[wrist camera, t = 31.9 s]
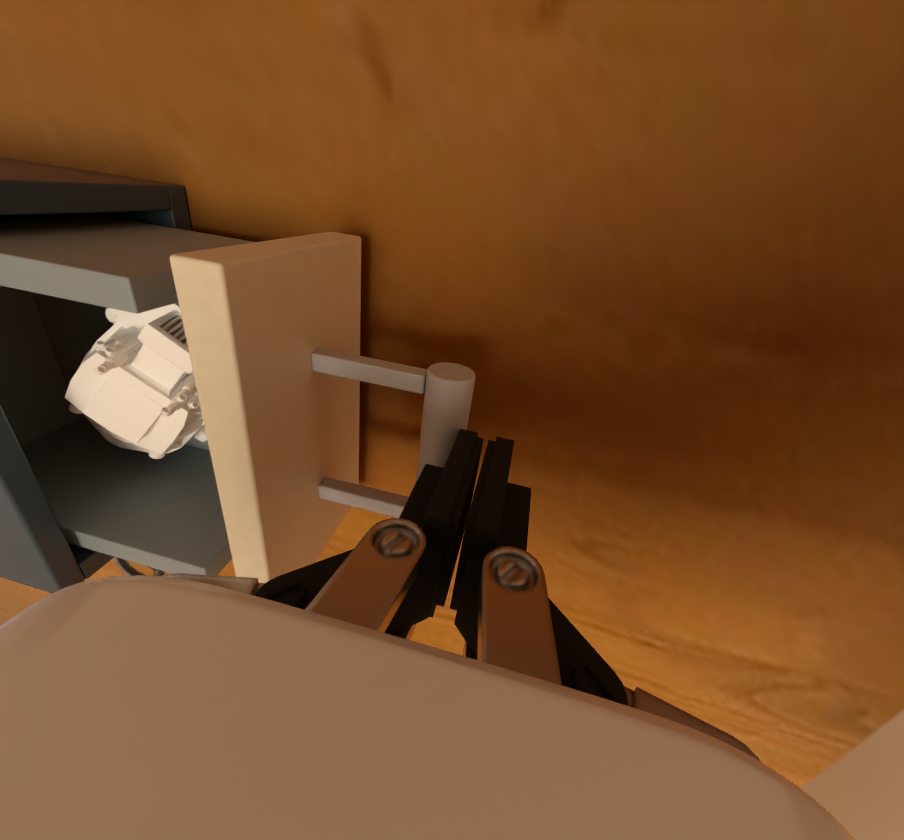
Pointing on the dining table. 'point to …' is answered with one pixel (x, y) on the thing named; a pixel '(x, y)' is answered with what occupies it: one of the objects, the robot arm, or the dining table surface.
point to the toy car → (140, 383)
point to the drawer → (206, 390)
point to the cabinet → (3, 461)
